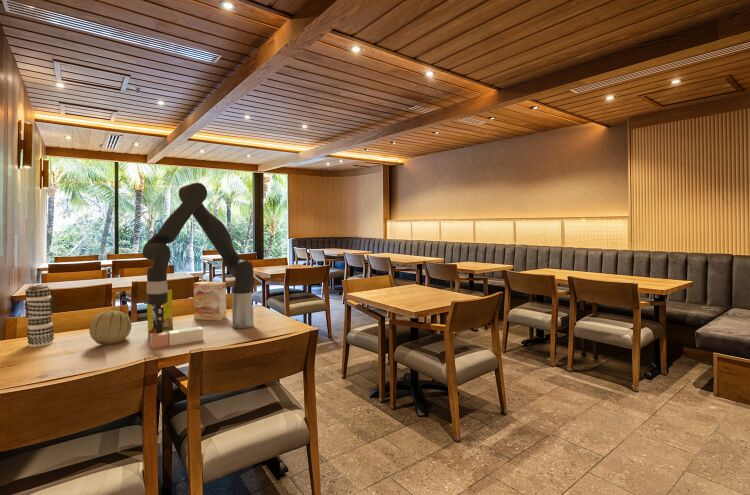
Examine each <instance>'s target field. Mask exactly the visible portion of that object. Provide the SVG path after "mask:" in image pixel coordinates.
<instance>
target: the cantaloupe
mask: <svg viewBox="0 0 750 495" xmlns="http://www.w3.org/2000/svg"><path fill="white" fill-rule="evenodd" d="M131 330H132V320H131V319H130V317H129V315H128V314H126V313H125V312H123V311H121V310H116V308H115V307H113V308H112V310H111V309H109V310H104V311H101V312H100V313H98V314H96V315H95V316H94V317H93V319H92V321H91V322H90V324H89V330H88V331H89V332H88V333H89V335H90V337H91V338H92V341H94V342H95V343H97V344H99V345H103V346H106V345H112V344H113V345H114V344H118V343H122V342H123V341H124V340H126V339H127V338H128V336H129V335H130V334H131Z"/></svg>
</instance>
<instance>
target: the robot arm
mask: <svg viewBox="0 0 750 495" xmlns="http://www.w3.org/2000/svg"><path fill="white" fill-rule="evenodd" d="M178 197H179V200H180V201H181V204H180V205H179V206H178V207H177V208H175V210H174V211H173V212H172V213H171V214H170V215H169V216H168V217H167V219H165V221H164V222H163V224H162V225H161V226H160V228H159V230H158V231H157V232H156V233H155V234H154V235H153V236H152V237H151V238H150V239H149V240H148V241H147V242H146V243H145V244H144V246H143V249H142V256H143V257H144V258H145V259H146V260H150V261H153V265H152V266H149V267H148V268H147V269H146V281H147V282H146V305H147V304H150V305H152V317H153V319H154V320H153V328H154V329H156V333H157V334H158V333H162V332H163V323H164V314H163V311H164V308H163V307H162V304H164V303H167V302H168V290H169V289H168V280H167V279H168V278H167V276H168V274H167V273H168V272H167V270H168V267H169V264H170V259H171V253H172V252H171V248H170V247H169V245H168V244H172V243H173V242H174V241H176V239H177V237H178V235H179V234H180V233H181V231H182V229H183V227H185V225H186V223H187V222H188V221H189V219H190V218H191V216H193V218H194V219H195V220H196V222H197V223H198V224H199V227H201V229H202V231H203V232H204V234H205V235H206V237H207V238H208V240H209V242H210V243H211V244H212V245H213V248H215V250H216V252H217V253H218V254H219V255H220V257H221V259H222V260H223V262H224V264H225V266H226V268H227V271H228V273H230V276H232V277H234V278H235V279H234V285H233V286H232V287H231V304H232V305H231V307H232V309H231V311H232V315H231V316H232V328H233V329H247V328H250V327H251V328H252V327H253V326H254V306H253V302H252V300H253V299H252V297H253V296H252V295H253V294H252V292H253V291H252V290H253V286H254V266H253V264H252V263H251V262H250V261H248V260H245V259H242V258H241V257H240V256H239V254H238V253H237V251H236V249H235V248H234V244H233V240H232V236H231V234H230V232H229V230H228V229H227V227H226V226H225V224H224V223H223V221H222V220H220V219H219V218H218V217H217V216H215V215H214V214H212V213H211V212H210V211H209V210H208V209H207V208H206V206H205V204H204V202H205V200H206V199H207V197H208V190H207V187H206V186H205V185H204V184H203V183H201V182H191V183H188V184H185V185H182V186H181V187H180V188H179V189H178ZM160 319H161V320H160Z"/></svg>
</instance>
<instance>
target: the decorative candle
mask: <svg viewBox="0 0 750 495" xmlns="http://www.w3.org/2000/svg"><path fill="white" fill-rule="evenodd" d="M24 290H25V291H26V298H25V300H26V302H25V303H24V306H25V307H24V310H26V311H25V313H24V314H25V318H26V319H27V323H28V324H27V329H26V331H27V333H26V335H27V343H28V345H27V346H28V347H29V348H34V347H35V348H37V347H43V346H48V345H51V344H53V343H54V342H55V340H54V339H55V333H54V327H55V326H54V325H53V320H52V316H53V315H54V314H53V312H52V311H53V310H54V308H52V307H54V305H53V304H51V303H53V302H54V300H52V299H53V296H52V295H51V287H49V286H48V285H47V284H32V285H29V286H28V287H27V289H24Z"/></svg>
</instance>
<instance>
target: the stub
mask: <svg viewBox="0 0 750 495" xmlns="http://www.w3.org/2000/svg"><path fill="white" fill-rule="evenodd" d="M149 342H150V347H151V349H157V348H162V347H167V346H168V347H169V340H168V333H167V331H165V332H162V333H158V334H157V333H151V334H150V337H149Z"/></svg>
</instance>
